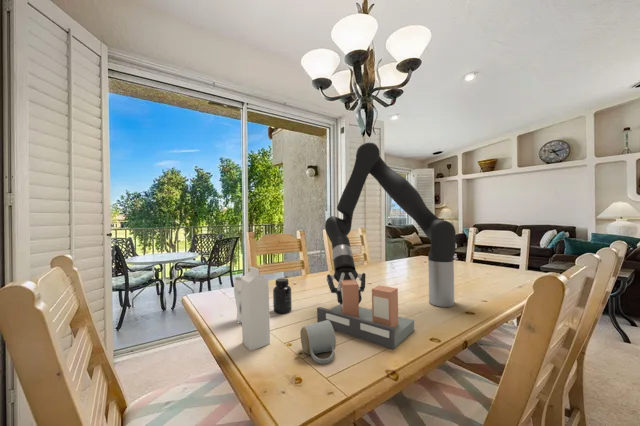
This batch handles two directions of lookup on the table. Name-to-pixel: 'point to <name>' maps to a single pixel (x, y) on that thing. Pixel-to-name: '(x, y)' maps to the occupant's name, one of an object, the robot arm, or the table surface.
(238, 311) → the beer glass
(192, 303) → the table surface
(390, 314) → the tea box
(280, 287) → the supplement bottle
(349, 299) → the tea box
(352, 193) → the robot arm
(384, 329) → the display shelf
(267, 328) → the milk
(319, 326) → the ceramic mug
